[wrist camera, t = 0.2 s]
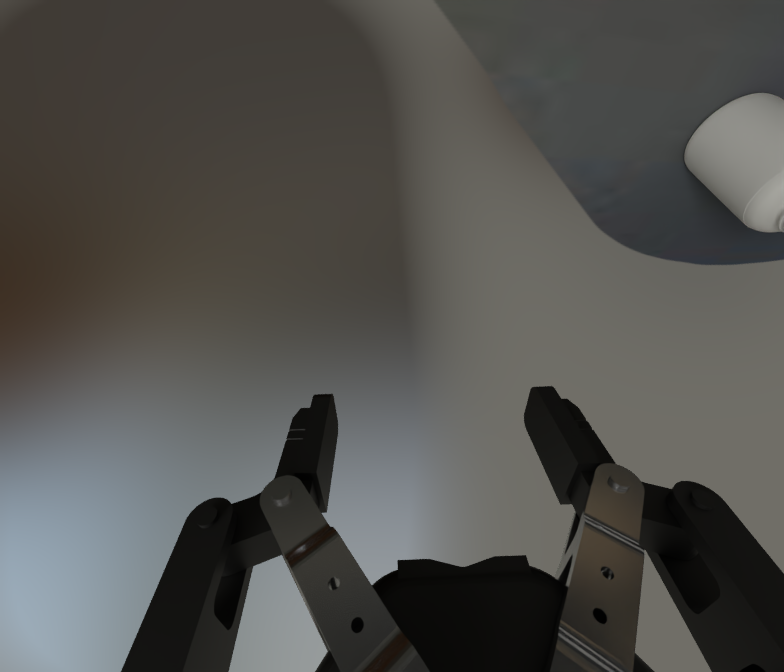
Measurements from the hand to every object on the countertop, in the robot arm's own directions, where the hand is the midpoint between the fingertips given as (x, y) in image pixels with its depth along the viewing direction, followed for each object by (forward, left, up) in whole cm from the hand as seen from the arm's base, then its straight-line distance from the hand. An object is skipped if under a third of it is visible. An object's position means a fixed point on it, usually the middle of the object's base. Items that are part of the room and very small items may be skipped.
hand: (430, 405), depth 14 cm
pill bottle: (+25, +24, -32) cm, 47 cm away
